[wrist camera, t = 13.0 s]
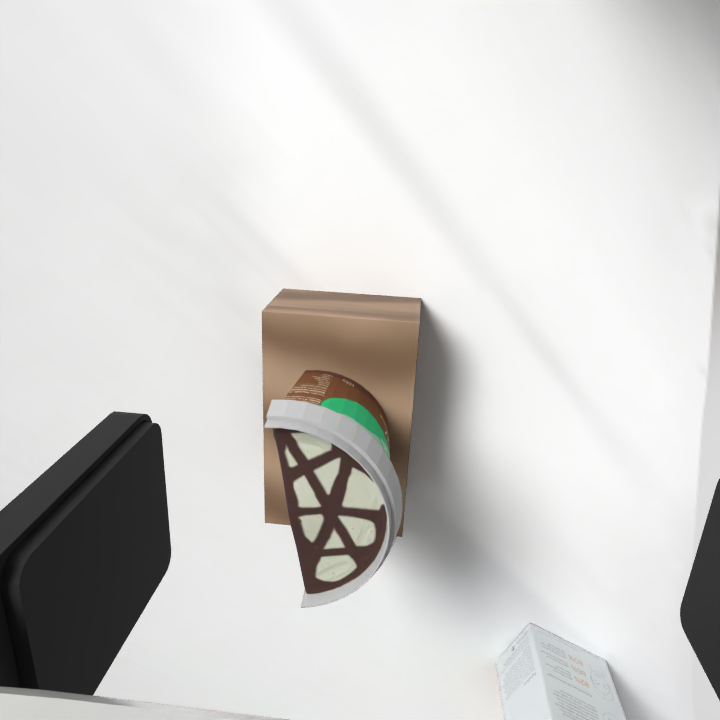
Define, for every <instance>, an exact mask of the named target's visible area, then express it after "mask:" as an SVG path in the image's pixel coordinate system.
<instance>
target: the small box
mask: <svg viewBox="0 0 720 720" xmlns="http://www.w3.org/2000/svg"><path fill="white" fill-rule="evenodd" d="M496 667H497V674H498V681H499V688H500V695H501V701H502V708H503V715H504V720H627V719H626V716H625V714H624V711H623V708H622V705H621V702H620V699H619V697H618V694H617V691H616V688H615V685H614V682H613V680H612V677H611V674H610V671H609V668H608V665H607V662H606V661H605V660H603V659H601V658H599V657H597V656H595V655H593V654H591V653H589V652H587V651H585V650H583V649H581V648H579V647H577V646H575V645H573V644H571V643H569V642H567V641H565V640H563V639H561V638H559V637H557V636H555V635H553V634H551V633H549V632H547V631H545V630H543V629H541V628H539V627H537V626H535V625H533V624H532V623H529V624H528V626H527V627H526V628H525V629H524V630H523V631H522V633H521V634H520V635H519V636H518V637H517V638H516V640H515V641H514V642H513V643H512V644H511V646H510V647H509V648H508V649H507V650H506V651H505V653H504V654H503V655H502V656H501V657H500V658H499V660H498V661H497V662H496Z"/></svg>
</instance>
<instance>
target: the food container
mask: <svg viewBox="0 0 720 720" xmlns="http://www.w3.org/2000/svg"><path fill="white" fill-rule="evenodd" d="M266 417H267V421H266V423H265V425H264V428H273V436H274V438H275V441H276V445H277V449H278V455H279V460H280V465H281V471H282V477H283V483H284V489H285V496H286V502H287V509H288V515H289V520H290V524H291V528H292V531H293V535H294V539H295V543H296V547H297V552H298V556H299V561H300V566H301V571H302V576H303V581H304V586H305V590H304V595H303V600H302V604H301V608H305V607H315V606H320V605H324V604H328V603H332V602H334V601H337V600H339V599H342V598H344V597H346V596H348V595H349V594H351V593H353V592H354V591H356V590H357V589H359V588H360V587H361V586H362V585H363V584H365V583H366V582H367V581H368V580H369V579H370V577H372V576H373V575H374V573H375V572H376V571H377V570H378V569H379V568H380V566H381V565H382V564H383V562H384V560H385V559H386V557H387V555H388V553H389V551H390V549H391V547H392V545H393V542H394V540H395V538H396V535H397V532H398V529H399V526H400V523H401V516H402V510H403V509H402V492H401V488H400V483H399V479H398V477H397V474H396V472H395V469H394V467H393V464H392V463H391V461H390V443H389V426H388V422H387V418H386V416H385V413H384V411H383V409H382V407H381V406H380V404H379V403H378V401H377V400H376V399H375V397H374V396H373V395H372V394H371V393H370V392H369V391H368V390H367V389H365V388H364V387H363V386H362V385H360V384H359V383H357V382H355V381H354V380H352V379H350V378H348V377H345V376H343V375H341V374H337V373H333V372H330V371H322V370H305V372H304V373H303V374H302V375H301V377H300V378H299V379H298V381H297V382H296V383H295V385H294V386H293V387H292V389H291V390H290V391H289V392H288V394H287V395H286V396H285V398H284V399H283V400H272V401H271V404H270V407H269V410H268V413H267V415H266Z"/></svg>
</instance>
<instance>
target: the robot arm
mask: <svg viewBox="0 0 720 720" xmlns="http://www.w3.org/2000/svg"><path fill="white" fill-rule="evenodd" d="M170 558H171V543H170V531H169V519H168V507H167V495H166V483H165V471H164V459H163V446H162V434H161V428H160V426H159V425H158V424H157V423H152V421H151V418H150V417H149V416H148V415H147V414H137V413H126V412H113V413H111V414H110V415H108V416H107V417H106V418H105V419H104V420H103V421H102V422H101V423H99V424H98V425H97V426H96V427H95V428H94V429H93V430H92V431H90V432H89V433H88V434H87V435H86V436H85V437H84V438H82V439H81V440H80V441H79V442H78V443H77V444H76V445H75V446H73V447H72V448H71V449H70V450H69V451H68V452H67V453H66V454H64V455H63V456H62V457H61V458H60V459H59V460H58V461H57V462H55V463H54V464H53V465H52V466H51V467H50V468H49V469H47V470H46V471H45V472H44V473H43V474H42V475H41V476H40V477H38V478H37V479H36V480H35V481H34V482H33V483H32V484H31V485H29V486H28V487H27V488H26V489H25V490H24V491H23V492H21V493H20V494H19V495H18V496H17V497H16V498H15V499H14V500H12V501H11V502H10V503H9V504H8V505H7V506H6V507H5V508H3V509H2V510H1V511H0V720H288V719H280V718H272V717H264V716H256V715H248V714H240V713H231V712H223V711H215V710H207V709H199V708H191V707H183V706H175V705H167V704H159V703H151V702H143V701H135V700H126V699H118V698H109V697H100V696H93V694H94V693H95V691H96V689H97V688H98V686H99V684H100V682H101V681H102V679H103V677H104V676H105V674H106V672H107V671H108V669H109V667H110V666H111V664H112V662H113V661H114V659H115V657H116V656H117V654H118V652H119V651H120V649H121V647H122V646H123V644H124V642H125V641H126V639H127V637H128V635H129V634H130V632H131V630H132V629H133V627H134V625H135V624H136V622H137V620H138V619H139V617H140V615H141V614H142V612H143V610H144V609H145V607H146V605H147V604H148V602H149V600H150V599H151V597H152V595H153V594H154V592H155V590H156V588H157V587H158V585H159V583H160V582H161V580H162V578H163V577H164V575H165V573H166V571H167V569H168V566H169V563H170ZM680 617H681V623H682V627H683V630H684V632H685V634H686V636H687V638H688V640H689V642H690V644H691V646H692V648H693V650H694V651H695V653H696V655H697V657H698V659H699V661H700V663H701V665H702V667H703V669H704V671H705V673H706V675H707V677H708V679H709V681H710V683H711V684H712V687H713V688H714V690H715V692H716V694H717V696H718V698H719V700H720V479H719V481H718V483H717V486H716V490H715V493H714V496H713V499H712V503H711V506H710V510H709V513H708V516H707V520H706V523H705V526H704V530H703V533H702V537H701V540H700V543H699V546H698V550H697V554H696V557H695V560H694V563H693V567H692V570H691V573H690V577H689V580H688V583H687V587H686V590H685V594H684V597H683V600H682V604H681V609H680Z"/></svg>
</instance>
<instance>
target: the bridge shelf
mask: <svg viewBox="0 0 720 720" xmlns="http://www.w3.org/2000/svg"><path fill="white" fill-rule="evenodd" d="M420 308H421V298H408V297H394V296H380V295H365V294H351V293H337V292H323V291H308V290H294V289H282V290H281V292H280V293H279V294H278V295H277V296H276V297H275V298H274V299H273V300H272V301H271V302H270V303H269V304H268V305H267V307H266V308H265V309H264V310H263V311H262V353H263V422H264V425H265V423H266V421H267V417H266V415H267V413H268V410H269V407H270V404H271V401H272V400H283V399H284V398H285V396H286V395H287V394H288V392H289V391H290V390H291V389H292V387H293V386H294V385H295V383H296V382H297V381H298V379H299V378H300V377H301V375H302V374H303V373H304V372H305V370H322V371H330V372H333V373H337V374H341V375H343V376H345V377H348V378H350V379H352V380H354V381H355V382H357V383H359V384H360V385H362V386H363V387H364V388H365V389H367V390H368V391H369V392H370V393H371V394H372V395H373V396H374V397H375V399H376V400H377V401H378V403H379V404H380V406H381V407H382V409H383V411H384V413H385V416H386V418H387V422H388V426H389V443H390V461H391V463H392V464H393V467H394V469H395V472H396V474H397V477H398V479H399V483H400V488H401V492H402V509H403V510H402V516H401V523H400V526H399V529H398V532H397V535H396V536H400V537H402V531H403V519H404V507H405V495H406V483H407V471H408V459H409V447H410V435H411V423H412V411H413V399H414V387H415V375H416V363H417V351H418V339H419V327H420ZM264 491H265V523H273V524H283V525H291V524H290V520H289V515H288V509H287V502H286V496H285V489H284V483H283V477H282V471H281V465H280V460H279V455H278V449H277V445H276V441H275V438H274V436H273V428H264Z"/></svg>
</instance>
